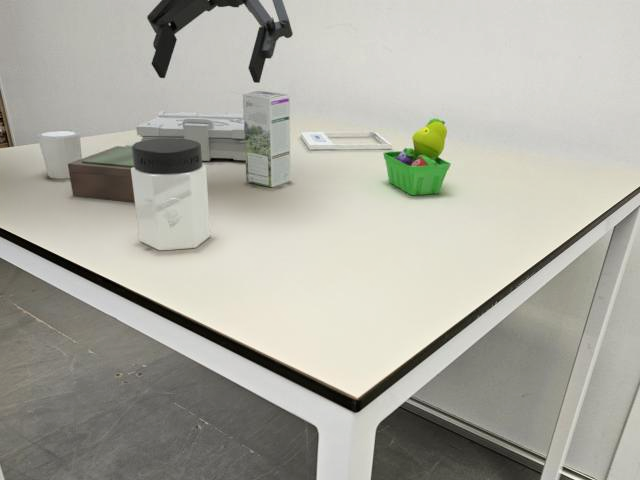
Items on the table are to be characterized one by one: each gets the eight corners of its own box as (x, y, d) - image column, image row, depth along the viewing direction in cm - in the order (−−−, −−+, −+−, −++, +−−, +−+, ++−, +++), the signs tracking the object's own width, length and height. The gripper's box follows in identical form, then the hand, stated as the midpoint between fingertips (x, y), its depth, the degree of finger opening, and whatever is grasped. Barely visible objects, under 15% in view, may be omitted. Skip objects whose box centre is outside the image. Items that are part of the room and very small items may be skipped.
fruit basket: (379, 181, 107) (383, 114, 101) (423, 178, 109) (430, 113, 104) (407, 198, 97) (414, 126, 92) (455, 195, 100) (464, 124, 95)
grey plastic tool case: (141, 140, 133) (137, 103, 129) (268, 144, 133) (267, 107, 129) (112, 160, 116) (106, 118, 112) (257, 164, 116) (256, 123, 112)
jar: (140, 253, 73) (127, 153, 68) (139, 231, 80) (127, 139, 75) (214, 247, 76) (208, 150, 70) (207, 227, 83) (201, 137, 77)
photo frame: (300, 131, 140) (375, 130, 143) (300, 136, 141) (375, 135, 144) (309, 144, 127) (392, 143, 130) (309, 149, 128) (391, 148, 131)
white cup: (79, 168, 110) (73, 128, 106) (91, 176, 105) (85, 134, 102) (39, 172, 106) (31, 131, 103) (50, 181, 101) (42, 138, 98)
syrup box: (291, 181, 105) (291, 93, 98) (271, 188, 101) (269, 96, 94) (266, 176, 108) (264, 89, 101) (244, 183, 103) (241, 93, 97)
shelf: (73, 195, 94) (67, 162, 92) (121, 175, 106) (116, 144, 104) (154, 204, 91) (150, 170, 89) (194, 181, 103) (192, 151, 101)
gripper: (330, -28, 86) (301, 97, 80) (171, -29, 91) (132, 87, 86) (322, -77, 79) (289, 56, 73) (149, -75, 84) (106, 49, 78)
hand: (205, 73), depth 79 cm, fingers open, 13 cm apart
